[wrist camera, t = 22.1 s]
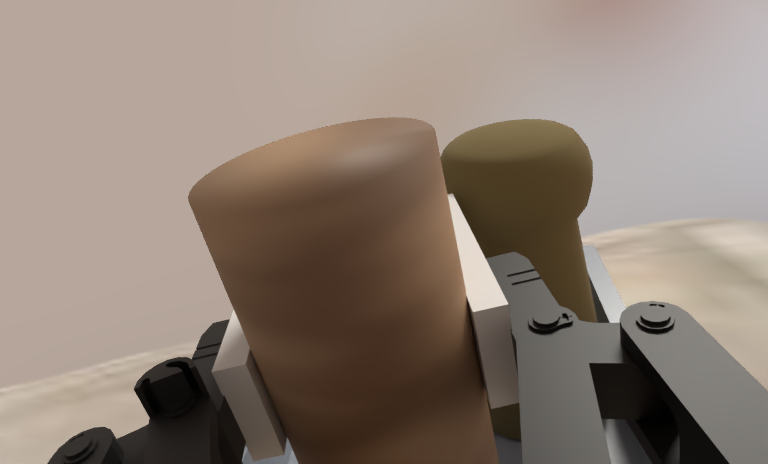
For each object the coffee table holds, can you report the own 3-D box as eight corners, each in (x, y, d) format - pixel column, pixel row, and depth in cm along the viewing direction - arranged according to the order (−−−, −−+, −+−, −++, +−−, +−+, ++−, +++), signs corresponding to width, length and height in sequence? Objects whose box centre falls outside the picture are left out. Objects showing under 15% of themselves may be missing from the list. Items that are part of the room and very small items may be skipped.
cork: (489, 329, 26) (460, 107, 21) (623, 353, 23) (622, 98, 18) (435, 416, 22) (384, 160, 17) (591, 462, 18) (579, 161, 14)
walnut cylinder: (321, 617, 13) (139, 234, 9) (348, 455, 18) (237, 145, 13) (522, 608, 13) (436, 179, 8) (498, 440, 17) (434, 103, 12)
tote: (181, 771, 14) (115, 695, 12) (322, 344, 30) (301, 285, 28) (806, 805, 11) (830, 712, 10) (598, 312, 27) (593, 244, 25)
